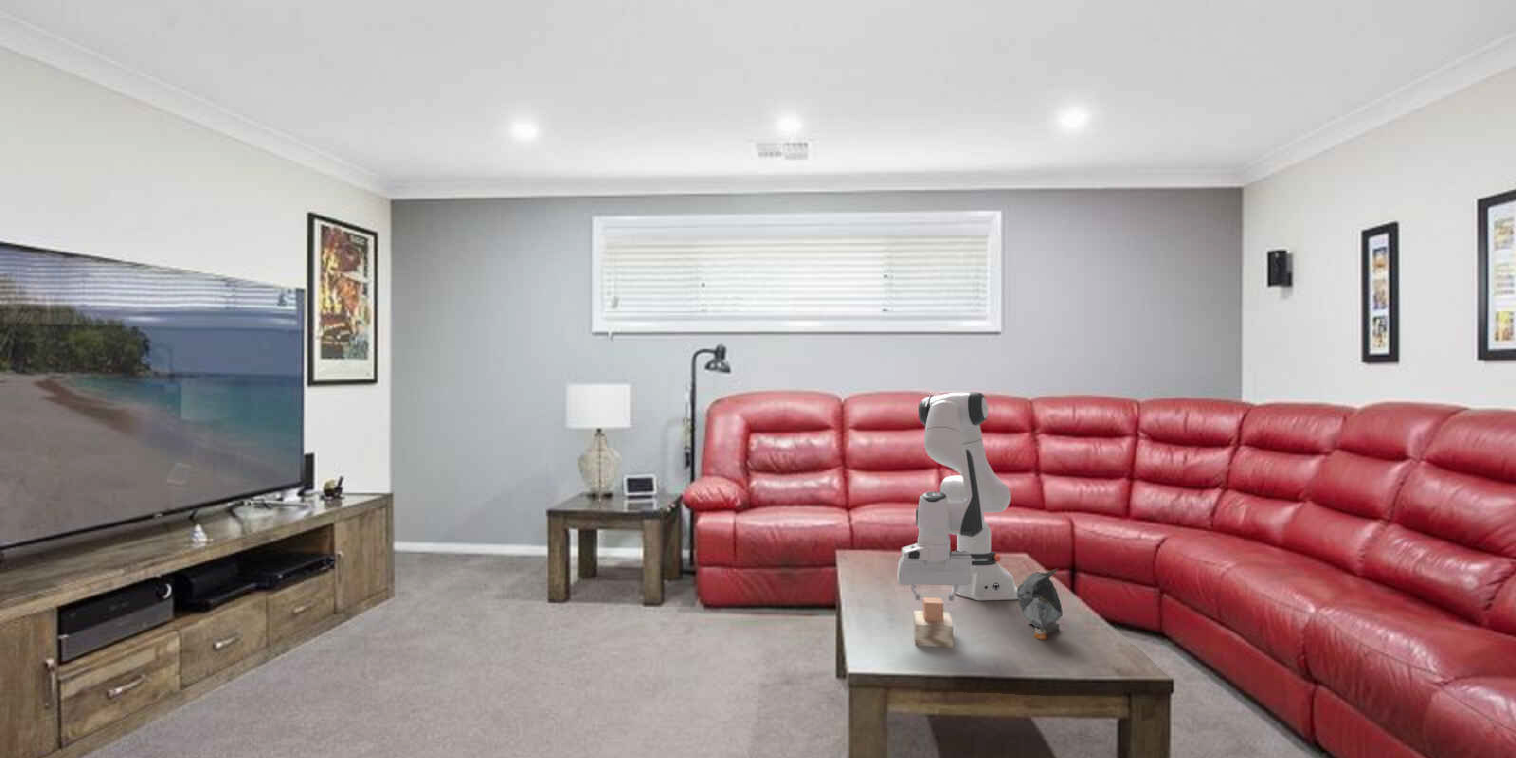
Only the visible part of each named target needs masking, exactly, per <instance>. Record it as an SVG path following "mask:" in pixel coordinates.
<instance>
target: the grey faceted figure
mask: <svg viewBox="0 0 1516 758" xmlns="http://www.w3.org/2000/svg"><path fill="white" fill-rule="evenodd" d="M1059 569H1060V568H1059V567H1058V568H1056V569H1053V570H1050V571H1047V572H1039V571H1036V572H1034V573H1031V574H1030V575H1029V576H1027V577H1026V578H1025V580H1023V582H1022V583H1021V584H1020V585H1019V586H1018V587H1016V588H1017V597H1018V599H1017V601H1018V604H1019V607H1020V609H1021V613H1022V614H1023V616H1024V617H1025V618H1026V619H1027V620H1028V621H1029V622H1030V623H1029V624H1028V625H1029V626H1032V627H1034V638H1035V639H1037V640H1047V639H1048V635H1050V634H1053V633H1054V632H1057V631H1059V630H1060V623H1057V622H1058V621H1059V620H1060V619H1061V618H1062V617H1063V608H1062V607H1063V606H1062V603H1061V599H1060V598H1059V594H1058V590H1057V588H1056V587H1055V586H1054V583H1053V582H1052V581H1051V579H1050V578H1051V577H1052V576H1053V575H1054V574H1055V573H1056V572H1057V571H1058V570H1059Z"/></svg>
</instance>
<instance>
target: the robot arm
mask: <svg viewBox="0 0 1516 758" xmlns="http://www.w3.org/2000/svg"><path fill="white" fill-rule="evenodd" d="M988 415H989V403H988V401H987V398H986V396H984V394H982V393H981V392H977V391H970V392H950V393H945V394H941V395H935V396H933V395H931V396H927V397H924V398H922V399H921V401H920V402H919V405H918V418H919V421H920V423H921V424H922V425H923V426H924V439H923V442H924V450H925V452H926V454H927V455H928V457H930V458H931V460H933V461H935V462H936V463H937V464H940V465H942V466H945V467H947V468H949V469H951V470H954V471H956V472H957V473H959V474H957V475H956V474H955V475H947V476H945V477H944V479H943V480H942V481H941V482H940V486H939V491H933V490H932V491H931V490H930V491H927V492H923V493H922V494H921V495H920V497H919V502H918V506H917V507H916V511H915V522H916V523H915V524H916V526H917V528H918V530H919V531H918V537H917V542H915V543H912V544H909V545H906V546H902V548H901V555H902V556H901V557H900V559H899V560H898V564H897V573H896V574H897V575H896V577H897V582H898V583H899V584H900V585H903V586H905V585H906V586H909V588H910V589H911V591H912V593H913V599H914V601H921V594H920V592H917V591H916V590H915V589H916V588H917V586H952V588H951V592H948V594H947V595H948V597H947V600H948V601H949V602H955V595H958V596H961V597H963V598H969V599H972V600H975V601H1003V600H1006V601H1007V600H1018V597H1017V588H1018V587H1017V586H1016V583H1015V580H1014V577H1013V575H1012V574H1011V573H1010V572H1009V571H1008V569H1007V570H1006V569H1005V568H1004V567H1003V566H1002V565H1000V564H999V563H998V562H1000V561H1001V560H1002V557H1001V556H1000V554H997V552H996V553H995V551H992V530H991V527H990V526H989V524H988V523H987V522H986V521H985V514H984V513H1001V512H1002V513H1003V512H1004V511H1006V509H1008V507H1009V505H1010V504H1011V500H1012V499H1011V498H1012V495H1011V494H1012V493H1011V491H1010V488H1009V486H1008V485H1007V484H1006V483H1004V482H1003V481H1002V480H1001V479H1000V478H999V477H998V476H997V475H996V474H995V472H994V470H993V468H992V467H991V465H990V464H989V461H988V458H987V456H986V455H987V454H986V450H985V446H984V442H983V441H984V439H983V435H982V434H983V433H982V429H981V426H980V425H981V424H983V423H984V422H985V421H986V420H987V419H988V417H989V416H988ZM950 535H956V547H957V548H956V549H955V550H954V551H953V550H951V537H950Z"/></svg>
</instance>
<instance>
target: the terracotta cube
mask: <svg viewBox="0 0 1516 758" xmlns="http://www.w3.org/2000/svg"><path fill="white" fill-rule="evenodd" d="M922 611H923V617H924V620H925V621H943V612H944V602H943V600H942V598H941V597H922Z"/></svg>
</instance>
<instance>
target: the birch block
mask: <svg viewBox="0 0 1516 758" xmlns="http://www.w3.org/2000/svg"><path fill="white" fill-rule="evenodd" d="M913 633H914V643H915V645H914V646H920V647H923V646H924V647H933V648H934V647H935V648H936V647H937V648H954V625H953V621H952V617H951V613H950V612H946V611H945V612H944V611H943V621H925V620H924V617H923V610H914V611H913Z"/></svg>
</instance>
